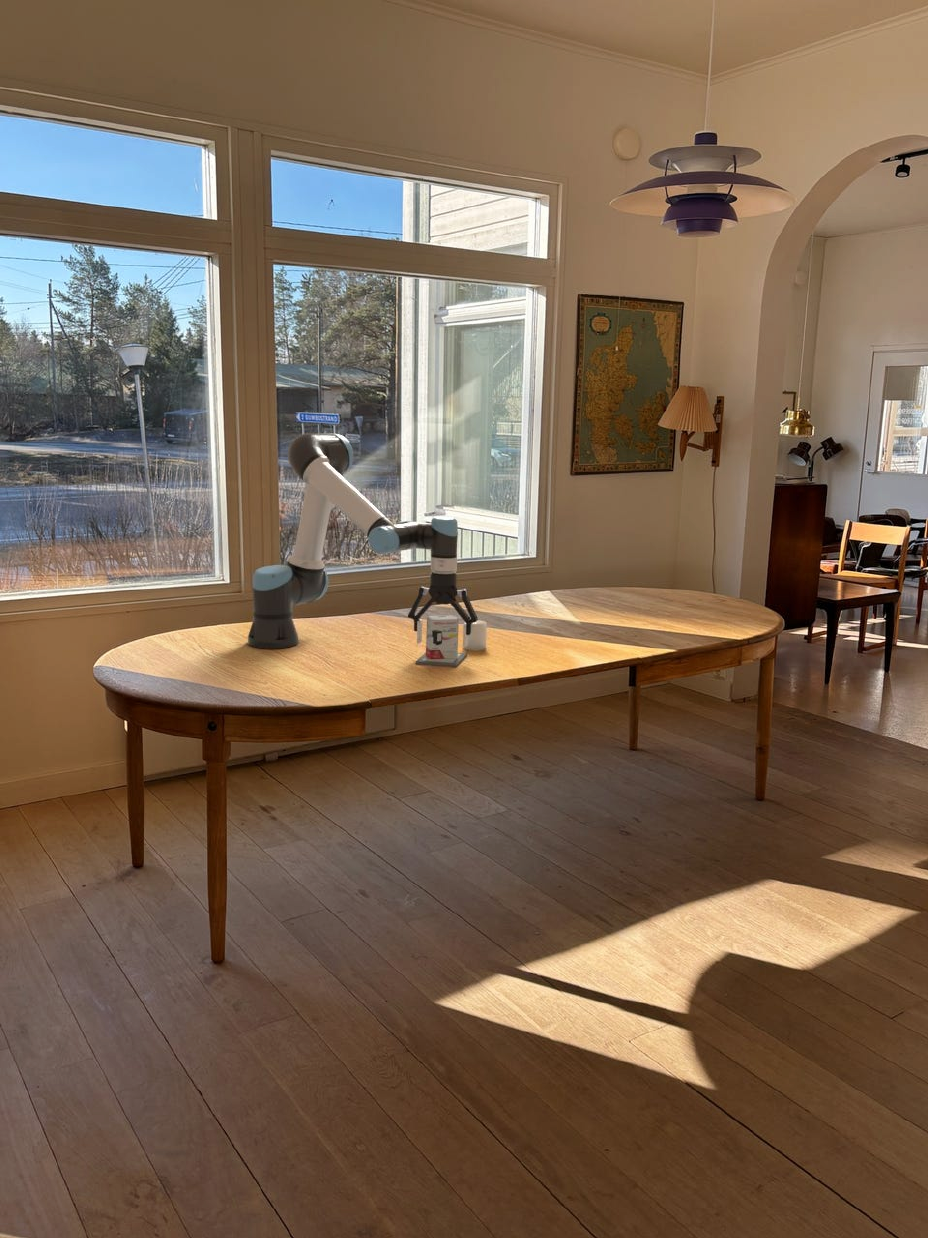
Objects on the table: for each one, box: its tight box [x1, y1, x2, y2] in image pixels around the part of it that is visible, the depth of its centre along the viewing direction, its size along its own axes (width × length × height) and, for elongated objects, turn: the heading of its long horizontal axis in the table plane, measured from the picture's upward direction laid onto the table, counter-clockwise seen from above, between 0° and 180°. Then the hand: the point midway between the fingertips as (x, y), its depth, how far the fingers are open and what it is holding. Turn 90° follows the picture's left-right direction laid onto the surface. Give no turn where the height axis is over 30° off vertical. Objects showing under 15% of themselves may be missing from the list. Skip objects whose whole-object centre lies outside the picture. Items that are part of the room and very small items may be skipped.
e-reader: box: [415, 651, 468, 668], centre depth 293 cm, size 12×14×1 cm
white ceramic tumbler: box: [462, 619, 488, 652], centre depth 309 cm, size 7×7×8 cm
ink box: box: [425, 614, 460, 659], centre depth 292 cm, size 9×5×12 cm, turn 105°
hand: (442, 644), depth 293 cm, fingers open, 13 cm apart
